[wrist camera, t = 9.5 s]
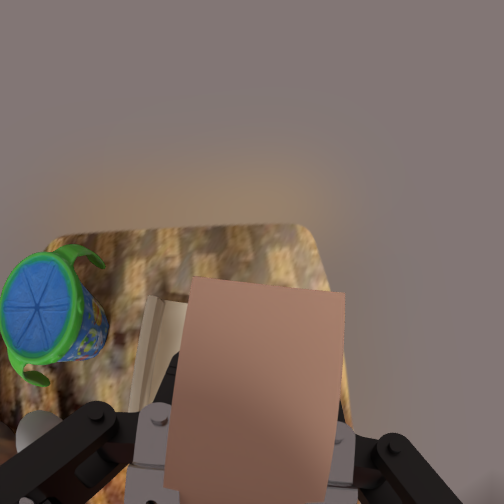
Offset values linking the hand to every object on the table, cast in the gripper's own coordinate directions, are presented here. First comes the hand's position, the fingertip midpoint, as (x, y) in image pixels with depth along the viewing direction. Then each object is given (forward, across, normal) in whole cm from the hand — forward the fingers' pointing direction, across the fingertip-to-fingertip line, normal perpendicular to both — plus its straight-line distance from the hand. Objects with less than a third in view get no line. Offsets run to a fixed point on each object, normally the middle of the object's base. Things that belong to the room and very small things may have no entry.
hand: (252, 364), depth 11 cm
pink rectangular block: (+1, 0, +4) cm, 5 cm away
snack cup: (+14, +19, +12) cm, 26 cm away
